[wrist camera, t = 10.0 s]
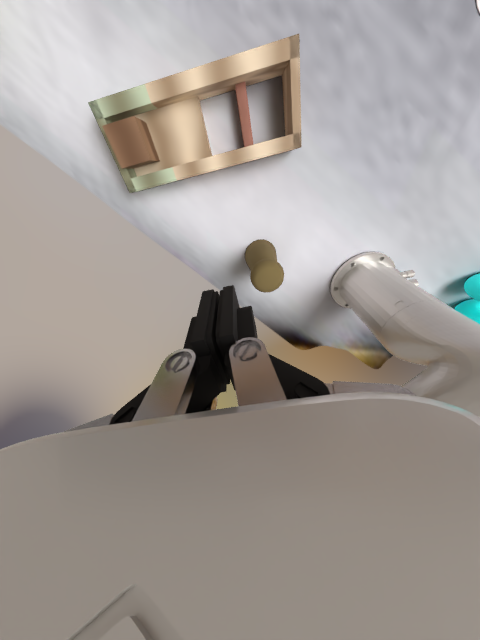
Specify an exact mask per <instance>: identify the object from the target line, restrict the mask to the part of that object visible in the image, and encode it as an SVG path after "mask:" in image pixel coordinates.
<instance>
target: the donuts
mask: <svg viewBox="0 0 480 640" xmlns="http://www.w3.org/2000/svg"><path fill="white" fill-rule="evenodd" d="M464 289H465V292H466V293H467V294H468V295H469V296H470V297H472V298H473V299H471V300H466V301H464V302H461V303H460V304H458V305H457V306H456V307H455V308H454V309H455V310H456V311H458V312H460V313H461V314H463V315H465V316H467V317H468V318H470V319H472V320H473V321H475V322H477V323H479V324H480V273H478V274H475V275H473V276H471V277H470V278H468V279H467V281H466V282H465V284H464Z"/></svg>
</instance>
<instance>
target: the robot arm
mask: <svg viewBox="0 0 480 640" xmlns="http://www.w3.org/2000/svg"><path fill="white" fill-rule="evenodd" d="M414 275H415V272H414V271H413V270H409V271H404V272H400V271H398V270H397V269H395V265H394V262H393V261H392V260H391V258H390V257H388V256H386V255H384V254H382V253H379V252H366V253H362V254H359V255H357V256H355V257H353V258H351V259H349V260H348V261H347V262H345V263H344V264H343V265H342V266H341V267H340V268H339V269H338V271H337V272H336V273H335V275H334V277H333V279H332V282H331V288H330V290H331V295H332V298H333V299H334V300H335V302H336V303H337V304H338V305H340V306H342V307H344V308H350V309H352V310H353V311H354V312H355V313H356V314H357V316H358V317H359V318H360V319H361V320H362V321H363V323H364V324H365V325H366V326H367V327H368V328H369V330H370V331H371V332H372V333H373V334H374V335H375V337H376V338H377V339H378V340H379V341H380V342H381V344H382V345H383V346H384V347H385V348H386V349H387V350H388V351H389V352H390V353H391V354H392V355H394V356H395V357H397V358H399V359H401V360H404V361H407V362H411V363H415V364H421V365H425V366H427V368H426V369H425V370H424V371H422V372H421V373H420V374H418V375H417V376H416V377H414V378H413V379H411V380H410V381H408V382H407V383H405V384H404V385H402V386H398V385H393V384H379V383H360V382H341V381H333V384H326V383H323V382H322V381H320V380H319V379H317V378H315V377H313V376H311V375H309V374H307V373H305V372H304V371H302V370H299V369H297V368H296V367H294V366H292V365H290V364H288V363H285V362H284V361H282V360H280V359H277V358H276V357H274V356H272V355H269V354H268V353H267V350H266V348H265V345H264V344H263V342H262V341H261V340H259V339H258V338H257V331H256V325H255V321H254V315H253V310H252V306H248V307H243V308H239V304H238V300H237V296H236V292H235V288H234V285H232V286H227V287H223V290H221V291H220V295H219V294H218V292H217V291H216V292H214V290H208V291H203V293H202V297H201V300H200V305H199V308H198V313H197V316H196V317H193V318H192V319H191V323H190V327H189V330H188V334H187V337H186V341H185V344H184V348H183V349H180V350H177V351H175V352H173V353H171V354H170V355H169V356H168V357H167V358H166V359H165V360H164V361H163V363H162V365H161V367H160V369H159V371H158V373H157V374H156V376H155V378H154V380H153V382H152V384H151V385H150V386H148V387H147V388H146V389H145V390H143V391H142V392H141V393H140V394H138V395H137V396H136V397H135V398H133V399H132V400H131V401H130V402H128V403H127V404H126V405H125V406H123V407H122V408H121V409H120V410H119V411H118V412H117V413H116V414H115V415H113V414H110V415H107V416H105V417H102V418H99V419H96V420H94V421H91V422H88V423H86V424H83V425H80V426H78V427H75V428H72V429H69V430H67V431H65V432H62V433H56V434H52V435H47V436H43V437H38V438H34V439H30V440H27V441H24V442H20V443H17V444H14V445H11V446H9V447H6V448H3V449H0V640H480V324H479V323H477V322H475V321H473V320H472V319H470V318H468V317H467V316H465V315H463V314H461V313H460V312H458V311H456V310H455V309H453V308H451V307H450V306H448V305H447V304H445V303H444V302H442V301H440V300H439V299H437V298H436V297H434V296H432V295H431V294H429V293H428V292H426V291H424V290H423V289H421V288H420V287H418V281H417V280H416V279H411V280H407V279H405V278H410V277H413V276H414ZM230 379H231V382H232V384H233V387H234V390H235V391H236V394H237V399H238V405H239V407H231V408H224V409H217V410H216V406H217V395H219V393H221V392H225V391H226V384H230Z"/></svg>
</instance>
